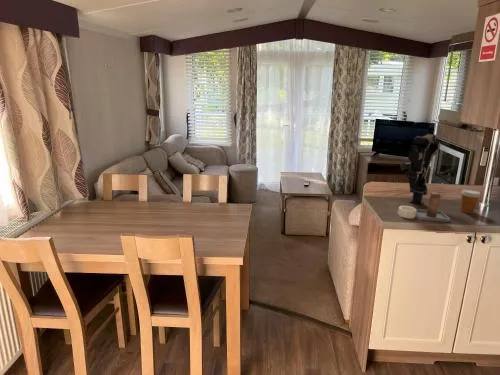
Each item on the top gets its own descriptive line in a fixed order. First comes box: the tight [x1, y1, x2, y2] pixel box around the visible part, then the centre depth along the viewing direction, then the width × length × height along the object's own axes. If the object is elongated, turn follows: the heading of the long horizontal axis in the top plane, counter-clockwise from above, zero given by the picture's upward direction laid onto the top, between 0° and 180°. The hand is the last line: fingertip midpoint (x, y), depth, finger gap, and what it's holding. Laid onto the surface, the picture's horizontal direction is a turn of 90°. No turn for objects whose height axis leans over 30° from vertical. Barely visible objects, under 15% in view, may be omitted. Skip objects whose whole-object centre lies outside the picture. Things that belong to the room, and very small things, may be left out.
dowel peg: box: [426, 192, 441, 217], centre depth 201 cm, size 5×5×12 cm
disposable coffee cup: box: [460, 188, 481, 214], centre depth 212 cm, size 10×10×12 cm
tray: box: [415, 208, 451, 223], centre depth 203 cm, size 12×15×2 cm
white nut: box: [397, 205, 418, 219], centre depth 203 cm, size 8×8×4 cm
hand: (413, 186), depth 211 cm, fingers open, 9 cm apart
